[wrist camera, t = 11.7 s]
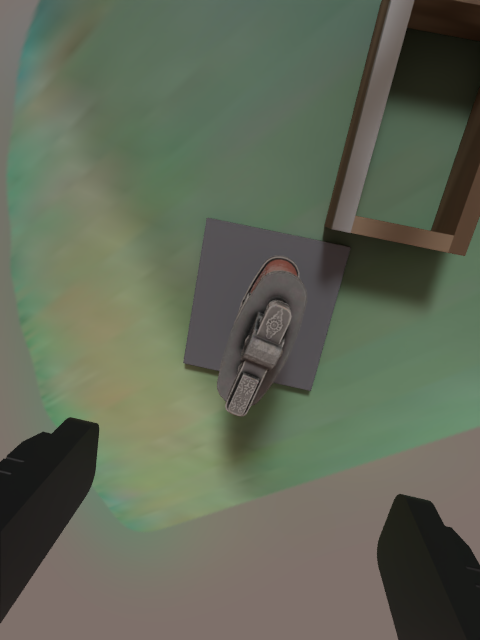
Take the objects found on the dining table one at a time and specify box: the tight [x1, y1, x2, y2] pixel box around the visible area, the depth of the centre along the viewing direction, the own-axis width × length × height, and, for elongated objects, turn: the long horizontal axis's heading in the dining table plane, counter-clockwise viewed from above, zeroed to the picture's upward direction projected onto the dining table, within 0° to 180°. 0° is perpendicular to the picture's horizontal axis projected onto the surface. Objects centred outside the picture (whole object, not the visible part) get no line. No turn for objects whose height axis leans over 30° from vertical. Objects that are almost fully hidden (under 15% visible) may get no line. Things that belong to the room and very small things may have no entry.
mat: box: [183, 218, 351, 391], centre depth 28 cm, size 10×11×1 cm
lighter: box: [217, 255, 307, 416], centre depth 23 cm, size 8×3×10 cm, turn 158°
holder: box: [325, 0, 480, 256], centre depth 22 cm, size 8×13×4 cm, turn 169°
